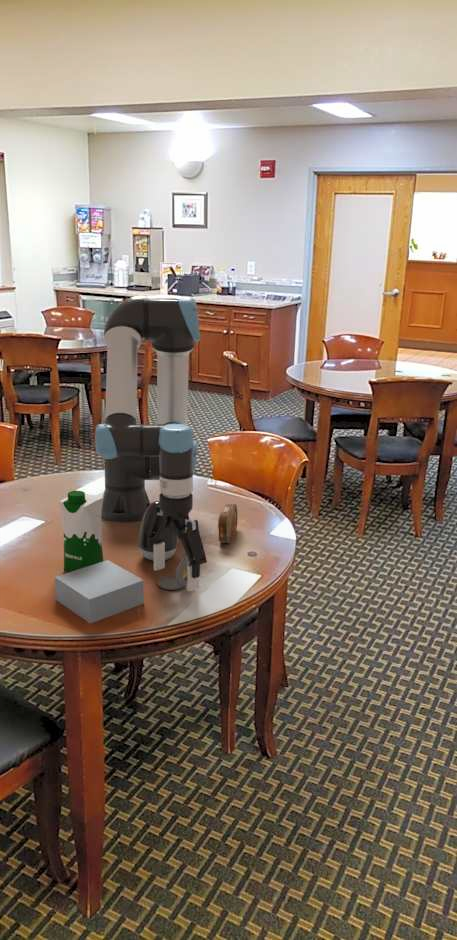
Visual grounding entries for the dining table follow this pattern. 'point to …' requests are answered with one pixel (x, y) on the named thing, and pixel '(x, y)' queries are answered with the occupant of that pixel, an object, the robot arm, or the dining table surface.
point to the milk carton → (81, 530)
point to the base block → (99, 591)
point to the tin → (227, 523)
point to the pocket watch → (176, 576)
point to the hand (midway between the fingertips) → (175, 578)
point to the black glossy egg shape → (146, 543)
